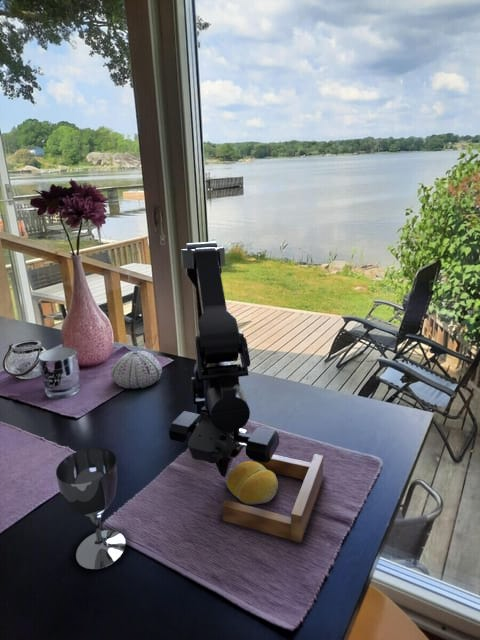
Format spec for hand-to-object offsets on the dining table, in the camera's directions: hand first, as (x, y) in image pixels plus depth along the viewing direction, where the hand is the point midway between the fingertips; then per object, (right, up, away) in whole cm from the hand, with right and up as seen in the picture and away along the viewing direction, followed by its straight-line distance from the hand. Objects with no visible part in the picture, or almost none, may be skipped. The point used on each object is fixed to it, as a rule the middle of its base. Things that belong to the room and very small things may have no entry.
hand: (224, 475), depth 79 cm
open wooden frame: (+9, -3, -4) cm, 10 cm away
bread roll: (+5, -2, -1) cm, 5 cm away
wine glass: (-18, -7, -13) cm, 23 cm away
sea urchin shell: (-25, +11, +40) cm, 48 cm away
